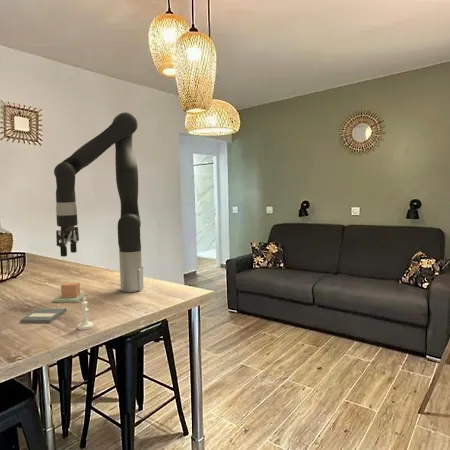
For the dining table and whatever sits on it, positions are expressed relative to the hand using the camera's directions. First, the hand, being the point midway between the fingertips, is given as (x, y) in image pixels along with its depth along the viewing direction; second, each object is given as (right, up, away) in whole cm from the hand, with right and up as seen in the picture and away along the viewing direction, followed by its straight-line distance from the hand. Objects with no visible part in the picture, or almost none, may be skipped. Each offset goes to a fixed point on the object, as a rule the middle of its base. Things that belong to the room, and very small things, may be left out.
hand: (69, 254), depth 140 cm
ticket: (0, -20, -18) cm, 27 cm away
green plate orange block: (0, -18, +1) cm, 18 cm away
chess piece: (+18, -21, -28) cm, 39 cm away
